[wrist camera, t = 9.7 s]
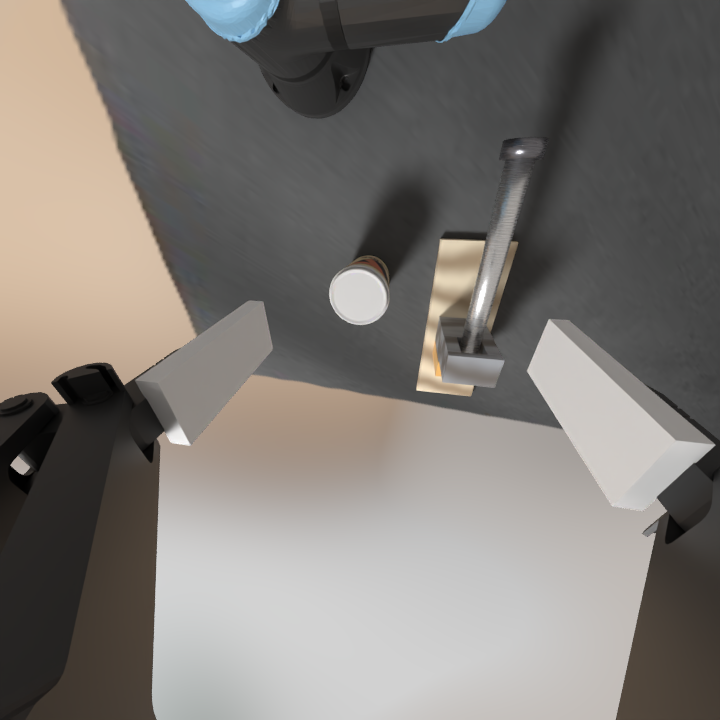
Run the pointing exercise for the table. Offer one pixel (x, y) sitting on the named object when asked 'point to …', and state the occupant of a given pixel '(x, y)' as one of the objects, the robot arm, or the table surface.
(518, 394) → the table surface
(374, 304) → the coffee cup
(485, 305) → the shaft
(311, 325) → the table surface
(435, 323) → the bearing fixture
